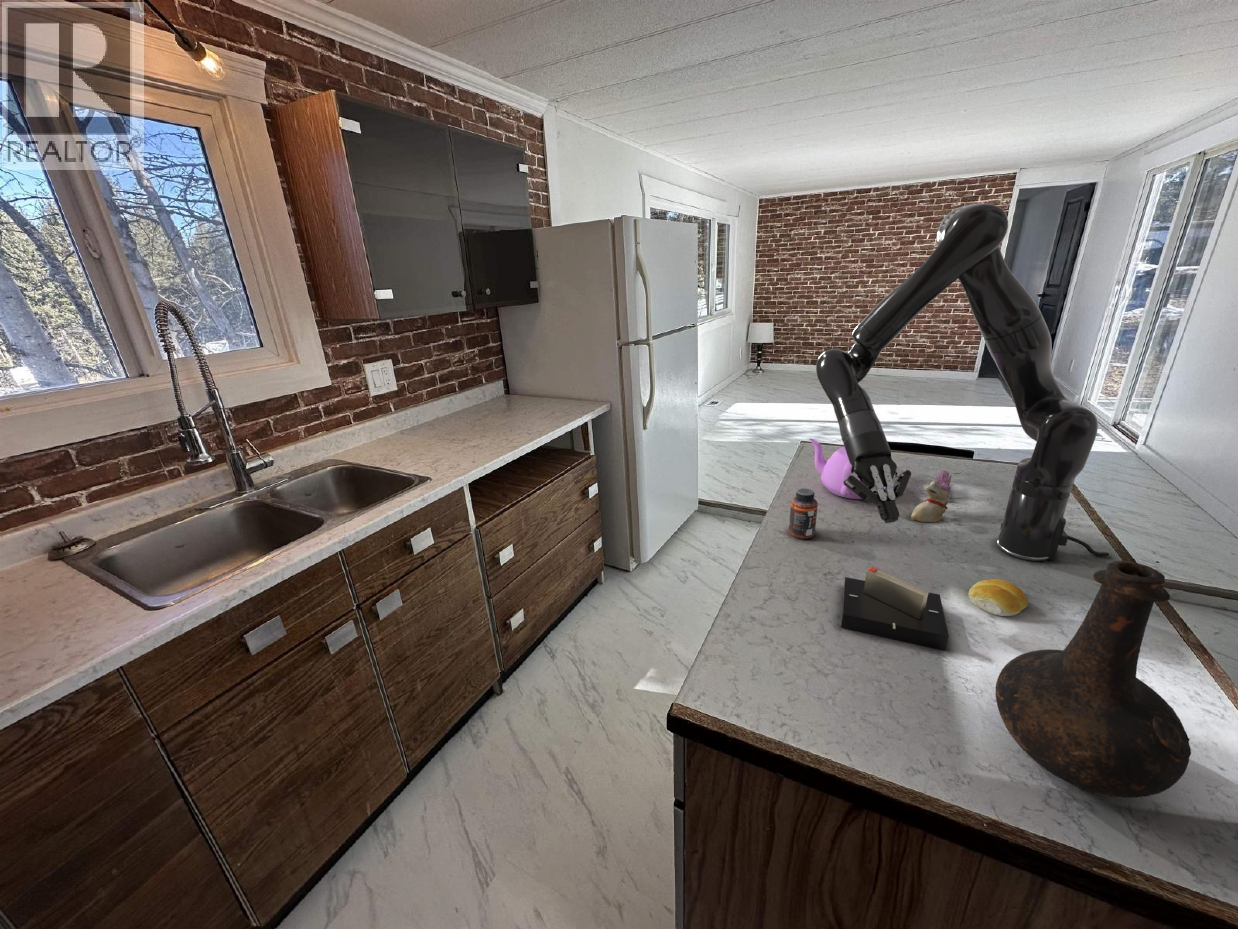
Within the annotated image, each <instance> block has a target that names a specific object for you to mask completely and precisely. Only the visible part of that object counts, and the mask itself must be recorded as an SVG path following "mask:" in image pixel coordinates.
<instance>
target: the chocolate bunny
mask: <svg viewBox="0 0 1238 929" xmlns="http://www.w3.org/2000/svg"><path fill="white" fill-rule="evenodd" d="M924 491H925V493H927V495H928V497H927V498H926V499H925V501H923V502H921V503H919V504H917V505H916V506H915V508H914V509H913V511H912V513H911V515H910V518H911V520H912V521H917V522H922V523H936V522H937V523H938V522H939V521H942V520H943V518H944V516H943V515H944V514H945V512H946V511H947V510H948V508H949V507H948V506H947V505H948V504H949V502H950V492H946V491H943V490H942V489H941V488H940V486H939V485H938V484H937V483H936V482H935V480H932V481H931V483H930V484H929V485H927V486H926V487H924Z"/></svg>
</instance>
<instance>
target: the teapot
mask: <svg viewBox="0 0 1238 929" xmlns="http://www.w3.org/2000/svg"><path fill="white" fill-rule="evenodd" d="M808 439H809V441H810V442H811V443H812V445H813V447H814V452H815V453H814V468H815V470H816V471H817V472H818V473H819V474H820V480H821V482H822V485H823V486H824V487H825V489H827V491H829V493H832V494H833V495H836V496H839V497H842V498H846V499H851V500H862V499H861V498H860V497H859V496H858V495H856V494H855V493H854V492H853V491H851V490H850V489H849V488H848V487H847V486H845V485H844V483H843V482H844V480H845V479H847V478H848V477H849V476H850V475H851V474H852V472H851V469H852V465H851V464H850V462H849V459H848V456H847V453H846V450H845V447H844V446H842V447H839V448H838V449H836V450H835V452H834V453H832V455H831V456H830V457H829V458H828V460H826V459H825V458H824V455H823V454H824V453H823V446H822V444H821V442H820V441H818V440H816V439H814V438H810V437H809V438H808ZM860 482H861V481H860Z"/></svg>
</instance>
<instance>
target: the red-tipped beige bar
mask: <svg viewBox="0 0 1238 929" xmlns="http://www.w3.org/2000/svg"><path fill="white" fill-rule="evenodd" d="M865 573H866V574H865V580H864V581H865V586H864V593H865V594H867V595H869V596H872V597H874V598H876V599H878V600H880V601H882V602H884V603H886V604H888V605H890V606H892V607H894V608H896V609H898V610H901V611H903V612H905V613H907V614H909V615H911V616H913V617H915V618H917V619H920V618H922V617H923V616H924V611H925V607H926V602H927V597H928V592H929V591H927V590H925V589H922V588H921V587H918V586H916V585H914V584H912V583H909V582H907V581H904V580H901V579H899V578H897V577H895V576H892V574H891V575H890V574H888V573H885V572H884V571H881V570H879V569H878V568H876V567H874V566H871V567H869V568H868V569H866V572H865Z"/></svg>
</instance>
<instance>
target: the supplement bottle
mask: <svg viewBox="0 0 1238 929" xmlns="http://www.w3.org/2000/svg"><path fill="white" fill-rule="evenodd" d="M818 505H819V504H818V500H816V499H815V491H814V490H812V489H811V488H805V487H802V488H801V487H800V488H798V489H796V493H795V496H794V497H792V498H791V501H790V510H789V525H788V532H789V534H790V535H791V536H792V537H794V538H797V539H801V540H806V539H807V540H808V539H811V538H813V537H814V536H815V534H816V525H817V516H818Z"/></svg>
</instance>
